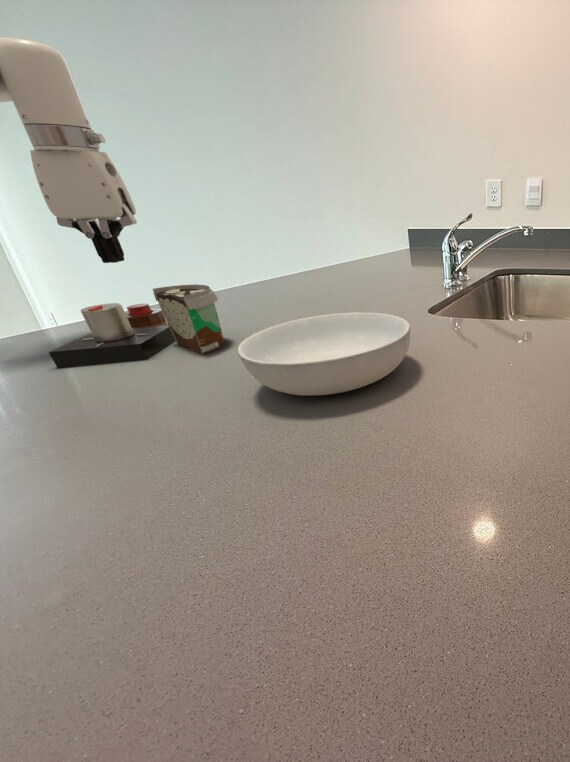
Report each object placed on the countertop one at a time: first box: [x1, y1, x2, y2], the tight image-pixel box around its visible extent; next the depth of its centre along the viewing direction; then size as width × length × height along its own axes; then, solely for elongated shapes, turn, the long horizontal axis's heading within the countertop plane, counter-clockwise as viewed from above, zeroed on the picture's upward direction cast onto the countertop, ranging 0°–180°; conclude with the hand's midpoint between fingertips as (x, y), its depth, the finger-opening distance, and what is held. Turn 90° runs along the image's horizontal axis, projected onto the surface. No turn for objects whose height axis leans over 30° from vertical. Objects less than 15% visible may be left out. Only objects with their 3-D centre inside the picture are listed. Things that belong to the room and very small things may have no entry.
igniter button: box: [126, 303, 152, 316], centre depth 76 cm, size 3×3×2 cm
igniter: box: [125, 307, 168, 328], centre depth 77 cm, size 10×8×4 cm
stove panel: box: [48, 325, 176, 369], centre depth 67 cm, size 12×10×3 cm
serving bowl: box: [237, 311, 411, 396], centre depth 55 cm, size 21×21×7 cm
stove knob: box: [80, 302, 134, 342], centre depth 65 cm, size 5×5×5 cm
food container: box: [152, 284, 226, 356], centre depth 68 cm, size 12×6×10 cm, turn 58°
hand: (114, 261), depth 72 cm, fingers closed
